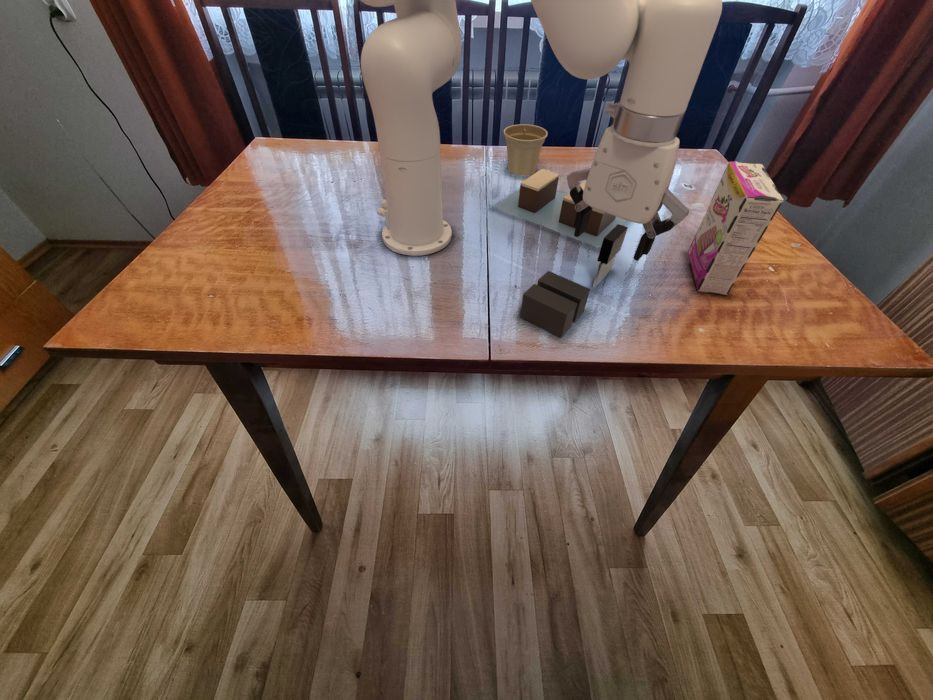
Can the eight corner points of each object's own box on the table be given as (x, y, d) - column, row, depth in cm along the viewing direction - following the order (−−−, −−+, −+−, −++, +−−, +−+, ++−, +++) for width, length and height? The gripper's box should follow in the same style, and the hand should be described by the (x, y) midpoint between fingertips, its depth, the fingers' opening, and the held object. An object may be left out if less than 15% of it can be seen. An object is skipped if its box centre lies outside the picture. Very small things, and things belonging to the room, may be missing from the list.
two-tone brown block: (517, 207, 83) (520, 182, 80) (538, 192, 88) (542, 168, 84) (534, 213, 82) (538, 188, 78) (555, 198, 86) (559, 174, 82)
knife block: (519, 317, 62) (522, 293, 59) (543, 293, 66) (548, 270, 63) (561, 338, 59) (567, 314, 56) (583, 312, 63) (590, 289, 60)
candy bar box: (684, 253, 74) (727, 159, 62) (714, 256, 73) (763, 162, 61) (694, 292, 67) (746, 194, 55) (728, 297, 66) (787, 199, 54)
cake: (558, 222, 80) (563, 197, 76) (578, 206, 84) (583, 181, 80) (596, 236, 76) (603, 211, 73) (615, 219, 81) (622, 194, 77)
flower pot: (494, 165, 98) (497, 126, 91) (531, 161, 100) (536, 121, 93) (509, 183, 92) (513, 142, 85) (548, 178, 94) (555, 137, 87)
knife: (597, 292, 66) (612, 243, 60) (588, 288, 67) (602, 239, 60) (613, 274, 70) (629, 225, 63) (604, 270, 70) (619, 222, 64)
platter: (493, 209, 84) (493, 206, 83) (530, 184, 91) (530, 181, 91) (598, 250, 74) (599, 247, 74) (630, 219, 82) (631, 216, 81)
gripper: (568, 114, 52) (546, 234, 65) (710, 151, 45) (654, 278, 58) (595, 99, 56) (570, 215, 69) (729, 131, 49) (673, 254, 62)
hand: (608, 244), depth 63 cm, fingers open, 9 cm apart
